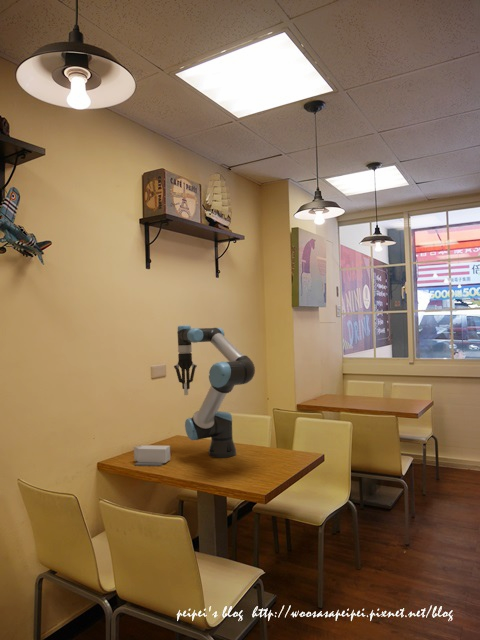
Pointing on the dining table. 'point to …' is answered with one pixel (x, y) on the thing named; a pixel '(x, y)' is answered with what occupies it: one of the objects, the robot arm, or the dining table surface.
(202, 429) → the robot arm
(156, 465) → the mat
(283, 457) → the dining table surface
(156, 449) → the milk carton
